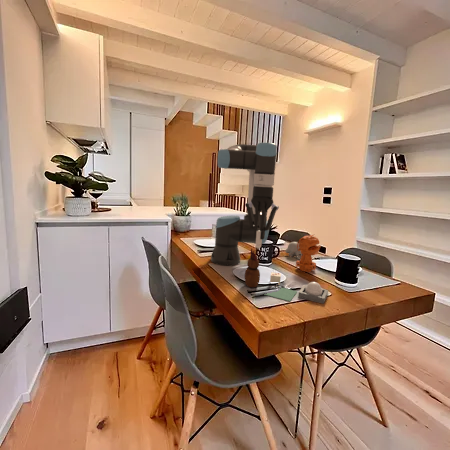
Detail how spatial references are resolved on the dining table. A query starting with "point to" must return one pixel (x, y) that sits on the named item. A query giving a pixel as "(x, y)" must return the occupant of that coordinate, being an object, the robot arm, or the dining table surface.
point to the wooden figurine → (252, 271)
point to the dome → (314, 289)
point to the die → (275, 277)
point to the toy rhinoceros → (293, 250)
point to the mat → (283, 294)
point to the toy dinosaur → (307, 253)
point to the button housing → (313, 297)
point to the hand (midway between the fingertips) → (258, 246)
